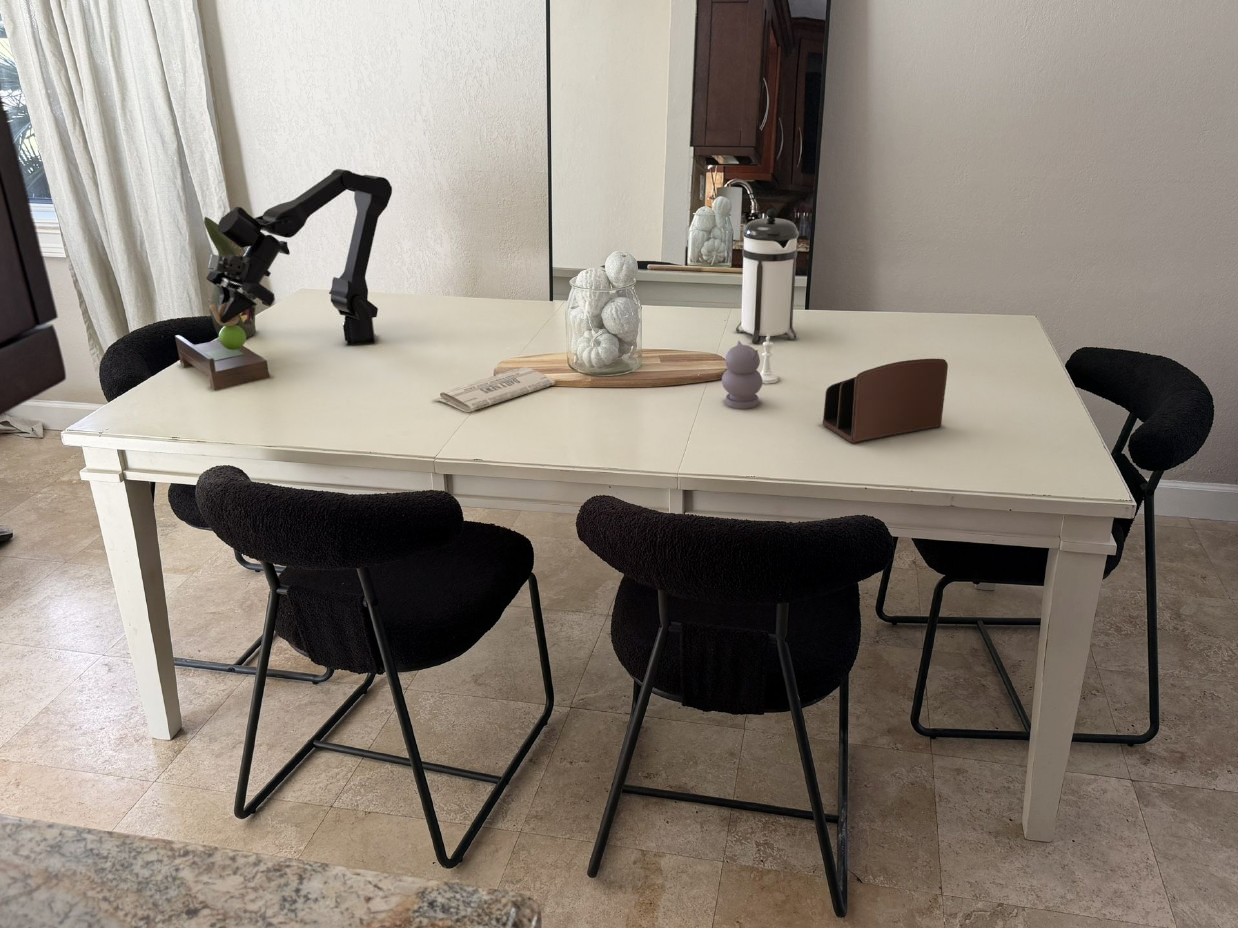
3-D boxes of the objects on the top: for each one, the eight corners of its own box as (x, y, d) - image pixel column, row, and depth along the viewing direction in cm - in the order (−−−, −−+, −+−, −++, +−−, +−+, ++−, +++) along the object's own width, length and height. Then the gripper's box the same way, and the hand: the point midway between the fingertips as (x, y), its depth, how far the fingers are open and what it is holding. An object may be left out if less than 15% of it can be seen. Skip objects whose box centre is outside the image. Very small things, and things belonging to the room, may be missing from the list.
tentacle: (210, 342, 245) (186, 217, 232) (233, 327, 256) (212, 207, 243) (246, 343, 244) (224, 217, 231) (267, 328, 255) (248, 207, 242)
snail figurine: (212, 352, 218) (200, 297, 213) (237, 343, 223) (226, 290, 218) (227, 356, 215) (216, 301, 210) (253, 347, 220) (242, 293, 215)
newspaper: (517, 372, 221) (517, 361, 220) (554, 391, 213) (555, 380, 212) (431, 398, 206) (431, 387, 205) (467, 419, 199) (467, 408, 198)
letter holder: (942, 427, 189) (951, 355, 183) (851, 444, 182) (858, 370, 176) (908, 409, 197) (916, 340, 191) (821, 425, 190) (826, 354, 185)
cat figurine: (713, 399, 204) (715, 342, 199) (747, 393, 207) (749, 336, 202) (734, 413, 197) (736, 354, 192) (769, 406, 200) (772, 348, 195)
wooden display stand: (233, 354, 236) (228, 325, 233) (269, 377, 220) (264, 347, 217) (180, 365, 229) (174, 335, 226) (214, 390, 214) (208, 359, 211)
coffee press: (808, 331, 245) (817, 205, 233) (781, 348, 233) (788, 217, 220) (744, 320, 254) (748, 199, 241) (714, 337, 241) (717, 210, 229)
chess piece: (780, 377, 215) (783, 332, 211) (773, 385, 211) (776, 339, 207) (758, 374, 217) (760, 329, 213) (751, 381, 213) (753, 336, 209)
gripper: (206, 233, 218) (167, 294, 215) (251, 244, 206) (211, 309, 203) (246, 262, 226) (209, 321, 223) (291, 274, 215) (253, 337, 212)
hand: (219, 321), depth 215 cm, fingers closed on snail figurine
